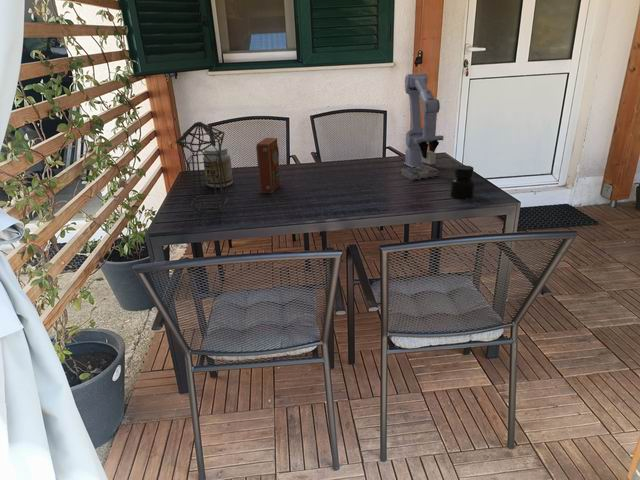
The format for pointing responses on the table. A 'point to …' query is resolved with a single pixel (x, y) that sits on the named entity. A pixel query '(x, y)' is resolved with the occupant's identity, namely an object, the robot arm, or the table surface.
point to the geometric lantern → (205, 127)
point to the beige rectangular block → (429, 157)
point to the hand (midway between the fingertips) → (427, 157)
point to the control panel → (268, 164)
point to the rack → (419, 172)
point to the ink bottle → (463, 182)
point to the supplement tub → (226, 166)
